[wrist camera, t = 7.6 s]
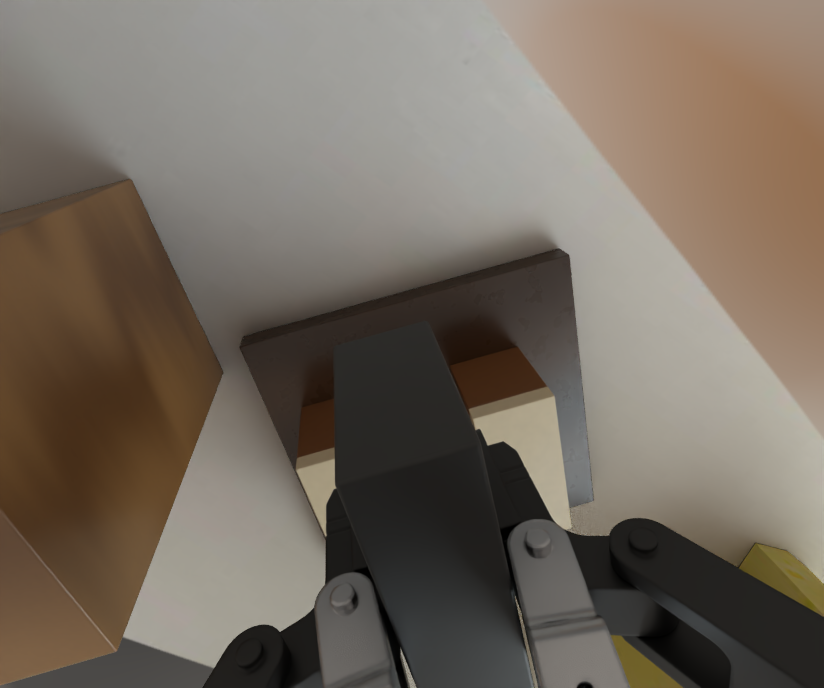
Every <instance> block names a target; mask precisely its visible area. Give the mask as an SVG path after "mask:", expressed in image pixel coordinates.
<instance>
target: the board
mask: <svg viewBox="0 0 824 688" xmlns="http://www.w3.org/2000/svg"><path fill="white" fill-rule="evenodd" d="M423 321H428V323H429V324H430V327H431V329H432V331H433V334H434V336H435V338H436V341H437V343H438V345H439V347H440V350H441V352H442V354H443V357H444V359H445V361H446V364H447V366H448V368H449V371H450V365H454V364H457V363H461V362H465V361H468V360H472V359H475V358H479V357H482V356H486V355H489V354H493V353H496V352H500V351H503V350H507V349H510V348H514V347H518V348H519V349H520V350H521V352H522V353H523V354H524V356H525V357H526V358H527V360H528V361H529V362H530V364H531V365H532V366H533V368H534V369H535V370H536V372H537V373H538V374H539V376H540V377H541V378H542V380H543V381H544V382H545V384H546V385H547V387H548V388H549V389H550V390H551V392H552V393H553V394H554V396H555V403H556V410H557V418H558V426H559V433H560V441H561V449H562V456H563V464H564V472H565V479H566V487H567V495H568V502H569V508H571V507H574V506H578V505H581V504H585V503H588V502H592V501H594V498H593V488H592V478H591V468H590V458H589V448H588V438H587V428H586V418H585V408H584V398H583V388H582V378H581V368H580V358H579V348H578V338H577V328H576V318H575V308H574V298H573V288H572V278H571V268H570V258H569V255H568V254H567V253H565V252H564V251H562V250H561V249H555V250H552V251H548V252H545V253H541V254H538V255H534V256H530V257H527V258H523V259H520V260H516V261H512V262H509V263H505V264H502V265H498V266H495V267H491V268H487V269H484V270H480V271H477V272H473V273H469V274H466V275H462V276H459V277H455V278H451V279H448V280H444V281H441V282H437V283H434V284H430V285H426V286H423V287H419V288H416V289H412V290H408V291H405V292H401V293H398V294H394V295H391V296H387V297H383V298H380V299H376V300H373V301H369V302H365V303H362V304H358V305H355V306H351V307H348V308H344V309H340V310H337V311H333V312H330V313H326V314H322V315H319V316H315V317H312V318H308V319H305V320H301V321H297V322H294V323H290V324H287V325H283V326H279V327H276V328H272V329H269V330H265V331H261V332H258V333H254V334H251V335H247V336H244V337H243V339H242V342H241V344H240V349H241V352H242V354H243V356H244V358H245V361H246V363H247V365H248V367H249V370H250V372H251V374H252V376H253V379H254V381H255V383H256V385H257V388H258V390H259V392H260V394H261V397H262V399H263V401H264V403H265V405H266V408H267V410H268V412H269V414H270V417H271V419H272V421H273V423H274V426H275V428H276V430H277V432H278V435H279V437H280V439H281V441H282V444H283V446H284V448H285V450H286V453H287V455H288V457H289V459H290V461H291V464H292V466H293V468H294V470H295V473H296V475H297V477H298V479H299V482H300V484H301V486H302V488H303V491H304V493H305V495H306V497H307V500H308V502H309V504H310V506H311V509H312V511H313V513H314V515H315V517H316V514H315V512H314V510H313V508H312V505H311V503H310V501H309V499H308V496H307V494H306V492H305V490H304V487H303V485H302V483H301V481H300V478H299V476H298V474H297V472H296V461H297V449H298V438H299V427H300V416H301V408H302V407H305V406H309V405H312V404H316V403H319V402H323V401H326V400H330V399H333V398H334V372H333V347H335V346H337V345H340V344H344V343H347V342H351V341H354V340H358V339H362V338H365V337H369V336H372V335H376V334H380V333H383V332H387V331H390V330H394V329H397V328H401V327H405V326H408V325H412V324H415V323H419V322H423ZM450 373H451V371H450ZM316 520H317V522H318V524H319V526H320V523H319V521H318V519H317V517H316ZM320 529H321V531H322V533H323V535H324V532H323V530H322V528H321V526H320ZM324 538H325V540H326V537H325V535H324Z"/></svg>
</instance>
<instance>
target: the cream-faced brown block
mask: <svg viewBox="0 0 824 688" xmlns="http://www.w3.org/2000/svg"><path fill="white" fill-rule="evenodd" d="M296 472H297V474H298V476H299V478H300V481H301V483H302V485H303V487H304V490H305V492H306V494H307V496H308V499H309V501H310V503H311V505H312V508H313V510H314V512H315V514H316V517H317V519H318V521H319V523H320V526H321V528H322V530H323V532H324V535H325V537H326V536H327V535H326V523H327V522H326V504H327V502H328V500H329V498H330V496H331V494H332V492H333V490H334V489H336V486H335V450H334V398H333V399H330V400H326V401H323V402H319V403H316V404H312V405H309V406H305V407H302V408H301V416H300V427H299V438H298V449H297V461H296Z"/></svg>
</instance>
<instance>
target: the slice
mask: <svg viewBox="0 0 824 688" xmlns="http://www.w3.org/2000/svg"><path fill="white" fill-rule="evenodd" d="M450 371H451V375H452V377H453V380H454V382H455V384H456V387H457V389H458V391H459V394H460V396H461V398H462V401H463V403H464V405H465V407H466V410H467V412H468V414H469V417H470V419H471V421H472V424H473V426H474V428H475V430H477V429H480V430H481V431H482V434H483V436H484V438H485V440H486V443H487V445H492V444H495V443H499V442H502V441H504V442H505V443H507V444H508V445H509V446H511V447H512V448H514V449H515V450H516V451H517V452H518V454H519V456H520V458H521V460H522V462H523V464H524V467H526V469H527V471H528V473H529V476H530V477H531V479H532V481H533V483H534V485H535V486H536V488H537V490H538V492H539V494H540V496H541V498H542V500H543V502H544V504H545V506H546V507H547V509H548V511H549V513H550V515H551V517H552V518H553V520H554V521H555V522H556V523H557V524H558V525H559V526H561V527H562V528H563V529H565V530H568V529H571V528H572V525H571V517H570V510H569V502H568V495H567V487H566V479H565V472H564V464H563V456H562V449H561V441H560V433H559V426H558V418H557V410H556V403H555V396H554V394H553V393H552V392H551V390H550V389H549V388H548V387H547V385H546V384H545V382H544V381H543V380H542V378H541V377H540V376H539V374H538V373H537V372H536V370H535V369H534V368H533V366H532V365H531V364H530V362H529V361H528V360H527V358H526V357H525V356H524V354H523V353H522V352H521V350H520V349H519V348H518V347H514V348H510V349H507V350H503V351H500V352H496V353H493V354H489V355H486V356H482V357H479V358H475V359H472V360H468V361H465V362H461V363H457V364H454V365H450Z"/></svg>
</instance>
